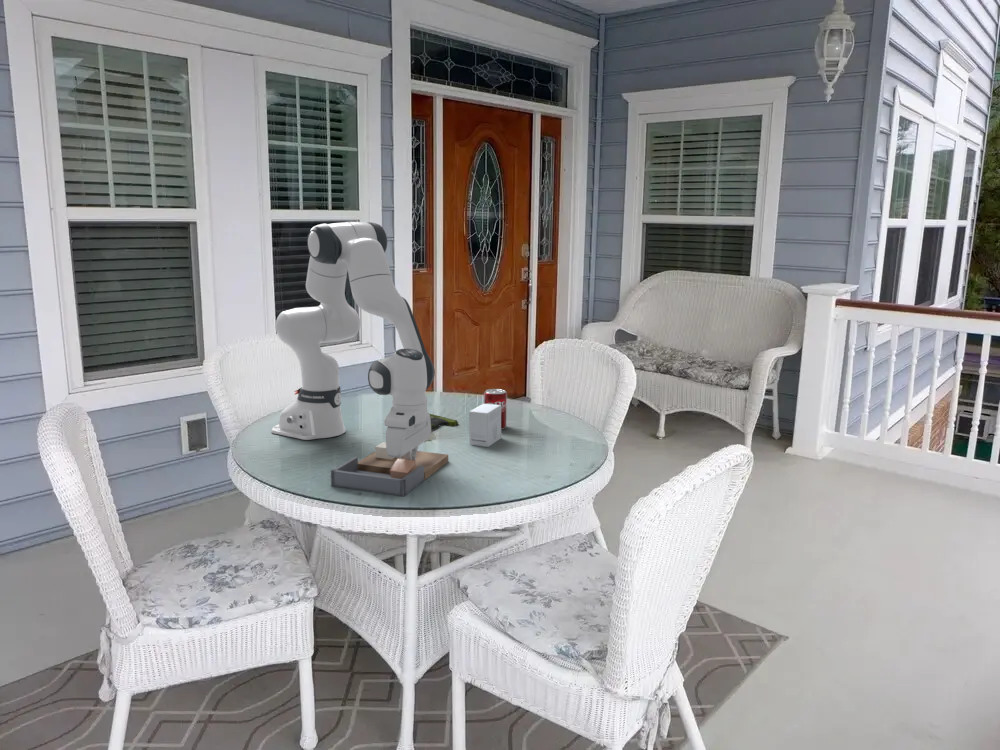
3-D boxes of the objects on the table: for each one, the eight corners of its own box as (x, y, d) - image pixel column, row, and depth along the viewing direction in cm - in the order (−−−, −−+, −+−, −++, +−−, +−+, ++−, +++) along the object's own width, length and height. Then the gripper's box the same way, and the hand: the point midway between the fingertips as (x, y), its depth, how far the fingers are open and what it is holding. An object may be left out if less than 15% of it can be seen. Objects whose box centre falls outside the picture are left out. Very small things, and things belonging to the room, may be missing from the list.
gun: (387, 424, 253) (420, 416, 265) (428, 434, 241) (461, 426, 253) (387, 416, 253) (420, 409, 264) (428, 426, 241) (461, 418, 252)
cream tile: (375, 457, 211) (375, 446, 210) (383, 452, 215) (383, 441, 215) (392, 459, 209) (391, 448, 209) (400, 454, 214) (400, 443, 213)
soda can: (509, 429, 247) (510, 393, 244) (488, 431, 244) (488, 394, 242) (501, 423, 253) (501, 388, 251) (480, 425, 251) (480, 389, 248)
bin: (331, 486, 194) (330, 470, 194) (354, 471, 206) (354, 456, 205) (403, 496, 188) (403, 480, 187) (424, 480, 199) (424, 465, 199)
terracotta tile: (391, 479, 198) (389, 470, 197) (399, 467, 202) (397, 458, 201) (409, 482, 197) (407, 472, 195) (417, 470, 201) (415, 460, 199)
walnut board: (355, 470, 206) (355, 463, 206) (383, 453, 221) (383, 446, 220) (424, 480, 200) (424, 472, 199) (448, 461, 215) (448, 454, 214)
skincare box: (482, 435, 240) (482, 402, 238) (501, 438, 238) (502, 405, 236) (468, 444, 231) (468, 410, 229) (488, 447, 228) (488, 412, 226)
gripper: (415, 402, 210) (415, 451, 213) (380, 421, 191) (381, 474, 194) (437, 404, 208) (436, 453, 211) (404, 423, 189) (404, 477, 192)
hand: (410, 464), depth 202 cm, fingers closed
